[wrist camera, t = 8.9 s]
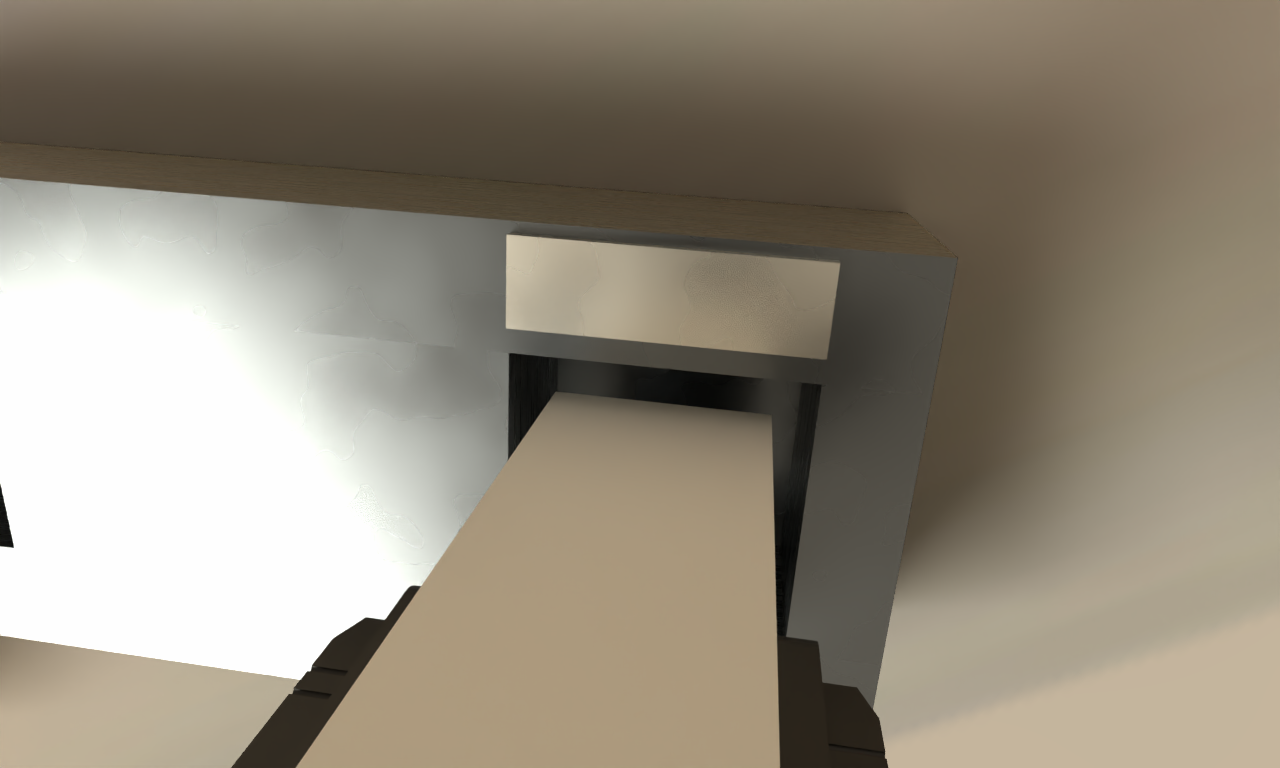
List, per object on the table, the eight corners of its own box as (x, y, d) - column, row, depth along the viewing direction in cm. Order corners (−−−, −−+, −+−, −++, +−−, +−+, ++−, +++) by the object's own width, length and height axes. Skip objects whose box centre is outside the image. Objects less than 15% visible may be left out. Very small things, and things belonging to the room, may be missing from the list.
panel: (-146, 130, 21) (-425, 144, 16) (907, 213, 18) (960, 260, 13) (-57, 498, 24) (-265, 602, 19) (840, 614, 21) (863, 770, 17)
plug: (555, 391, 16) (255, 827, 6) (771, 415, 15) (783, 918, 6) (548, 619, 18) (299, 1227, 8) (743, 646, 17) (717, 1320, 8)
